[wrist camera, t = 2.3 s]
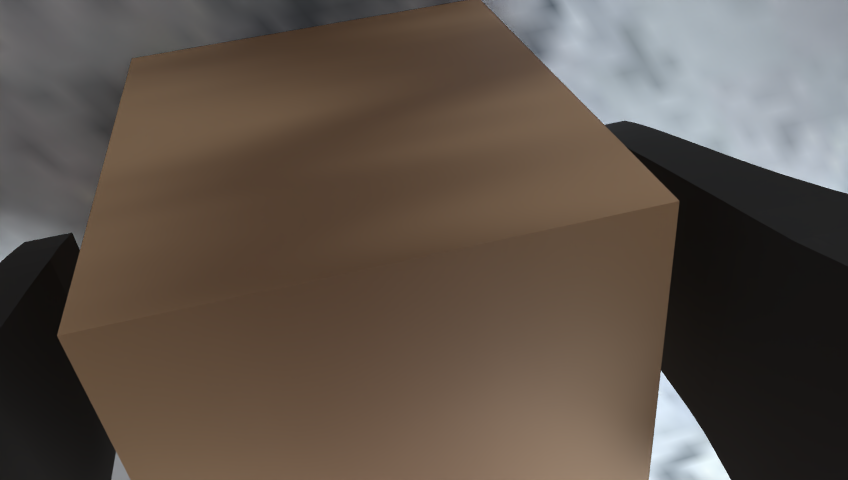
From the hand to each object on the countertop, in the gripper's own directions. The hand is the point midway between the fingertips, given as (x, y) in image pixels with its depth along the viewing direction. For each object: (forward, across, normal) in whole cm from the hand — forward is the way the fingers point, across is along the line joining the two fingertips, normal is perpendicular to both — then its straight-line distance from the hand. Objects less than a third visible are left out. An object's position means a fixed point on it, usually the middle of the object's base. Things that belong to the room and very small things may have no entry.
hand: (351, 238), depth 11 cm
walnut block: (+2, 0, 0) cm, 2 cm away
